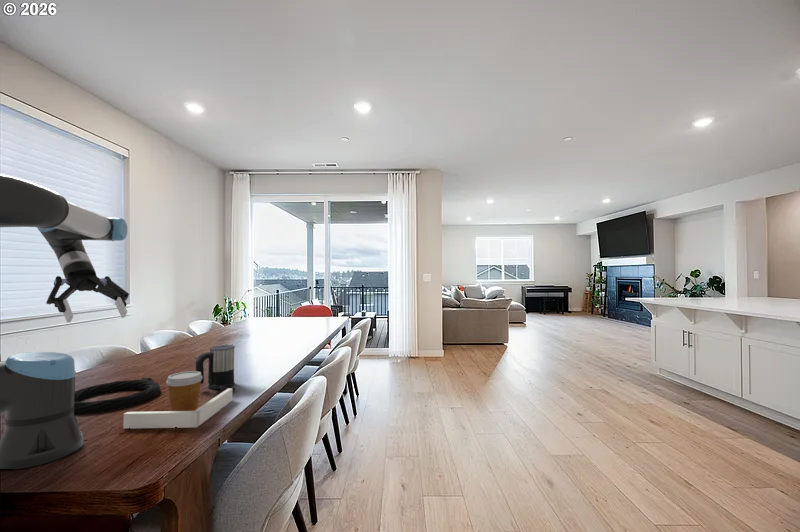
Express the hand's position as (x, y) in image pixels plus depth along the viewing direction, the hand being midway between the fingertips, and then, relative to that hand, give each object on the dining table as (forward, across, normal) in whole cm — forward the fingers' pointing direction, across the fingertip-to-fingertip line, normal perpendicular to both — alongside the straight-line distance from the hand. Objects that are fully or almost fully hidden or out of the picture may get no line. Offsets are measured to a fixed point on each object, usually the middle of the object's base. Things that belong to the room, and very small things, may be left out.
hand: (98, 316), depth 111 cm
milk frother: (+28, -35, -15) cm, 47 cm away
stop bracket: (+36, -13, -6) cm, 39 cm away
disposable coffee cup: (+37, -13, -5) cm, 40 cm away
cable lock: (+11, -10, -31) cm, 35 cm away
